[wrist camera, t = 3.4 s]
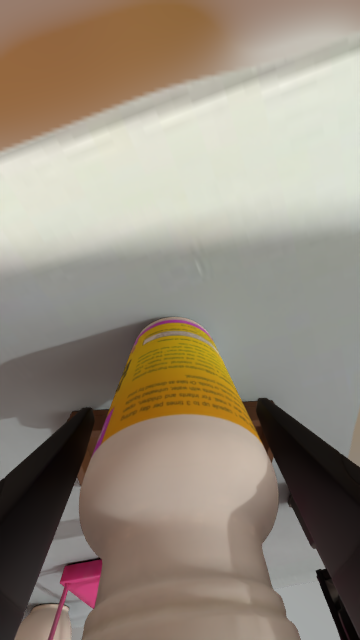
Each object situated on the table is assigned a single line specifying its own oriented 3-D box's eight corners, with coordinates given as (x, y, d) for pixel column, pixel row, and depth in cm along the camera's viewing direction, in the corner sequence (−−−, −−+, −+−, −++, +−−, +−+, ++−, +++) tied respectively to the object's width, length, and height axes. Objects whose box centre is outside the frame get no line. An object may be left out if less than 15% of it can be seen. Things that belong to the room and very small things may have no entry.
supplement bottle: (128, 316, 13) (-267, 939, 1) (214, 311, 13) (568, 786, 2) (139, 384, 16) (43, 812, 4) (211, 379, 16) (337, 763, 4)
